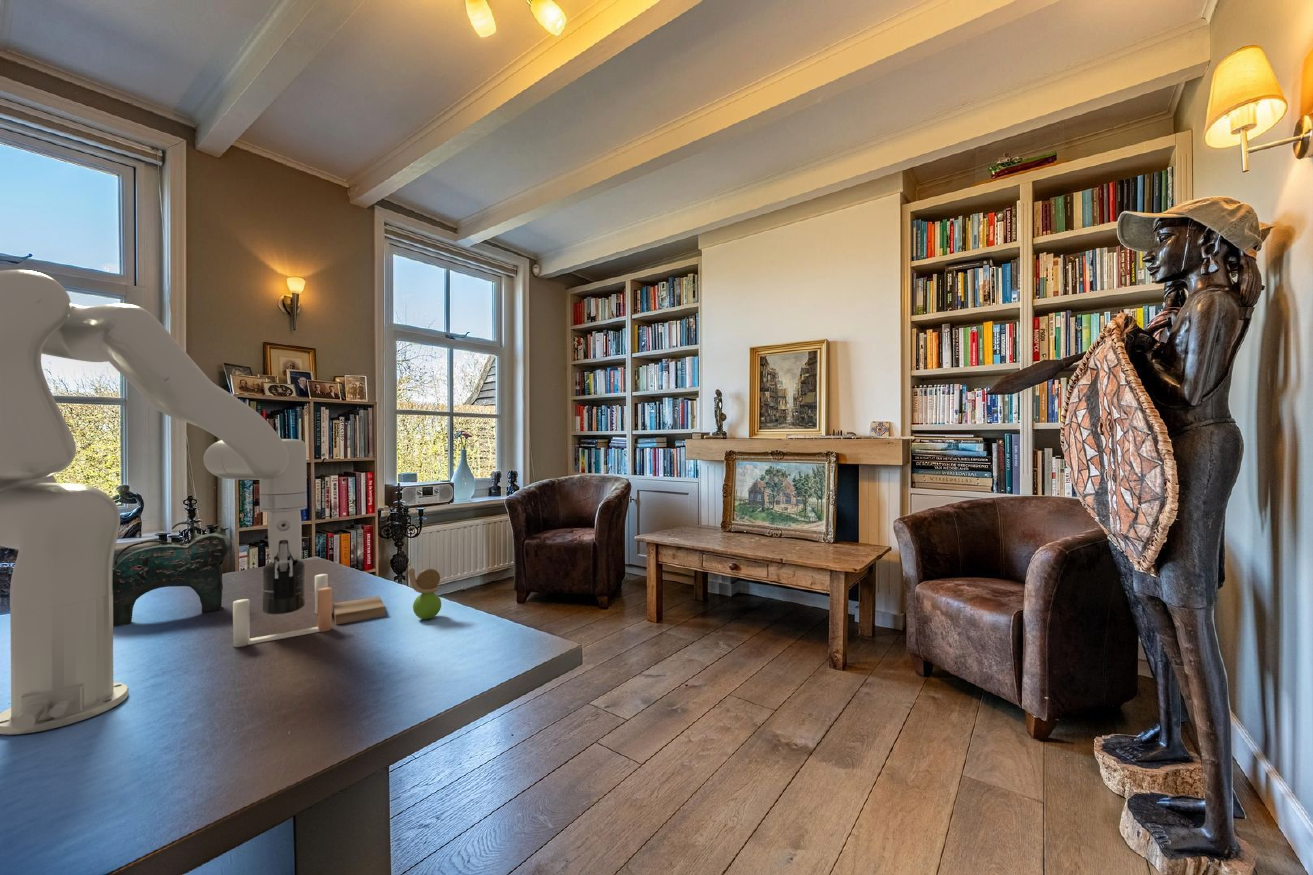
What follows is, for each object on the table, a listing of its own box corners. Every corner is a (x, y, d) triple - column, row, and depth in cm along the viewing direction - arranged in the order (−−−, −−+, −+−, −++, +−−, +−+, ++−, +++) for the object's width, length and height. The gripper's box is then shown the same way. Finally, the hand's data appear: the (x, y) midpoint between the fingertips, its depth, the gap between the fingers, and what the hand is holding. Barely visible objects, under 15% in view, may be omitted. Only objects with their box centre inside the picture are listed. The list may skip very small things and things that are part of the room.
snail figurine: (407, 617, 112) (407, 560, 112) (440, 612, 115) (440, 557, 115) (407, 625, 107) (407, 565, 107) (442, 620, 110) (441, 562, 110)
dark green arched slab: (231, 603, 122) (231, 517, 122) (230, 611, 117) (229, 520, 117) (109, 622, 110) (108, 525, 110) (101, 631, 105) (101, 530, 105)
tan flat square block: (385, 615, 113) (385, 606, 113) (335, 624, 108) (335, 614, 108) (379, 605, 120) (379, 596, 120) (332, 612, 115) (332, 603, 115)
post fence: (332, 629, 105) (332, 589, 105) (232, 648, 96) (232, 603, 96) (327, 609, 117) (327, 573, 117) (239, 623, 109) (238, 584, 109)
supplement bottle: (255, 616, 99) (255, 552, 99) (272, 605, 106) (271, 545, 106) (297, 613, 101) (297, 550, 101) (311, 602, 108) (310, 543, 108)
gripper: (307, 505, 98) (308, 601, 98) (306, 497, 113) (306, 580, 113) (257, 508, 94) (257, 608, 94) (262, 499, 109) (262, 586, 109)
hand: (284, 592), depth 104 cm, fingers closed on supplement bottle, 6 cm apart
